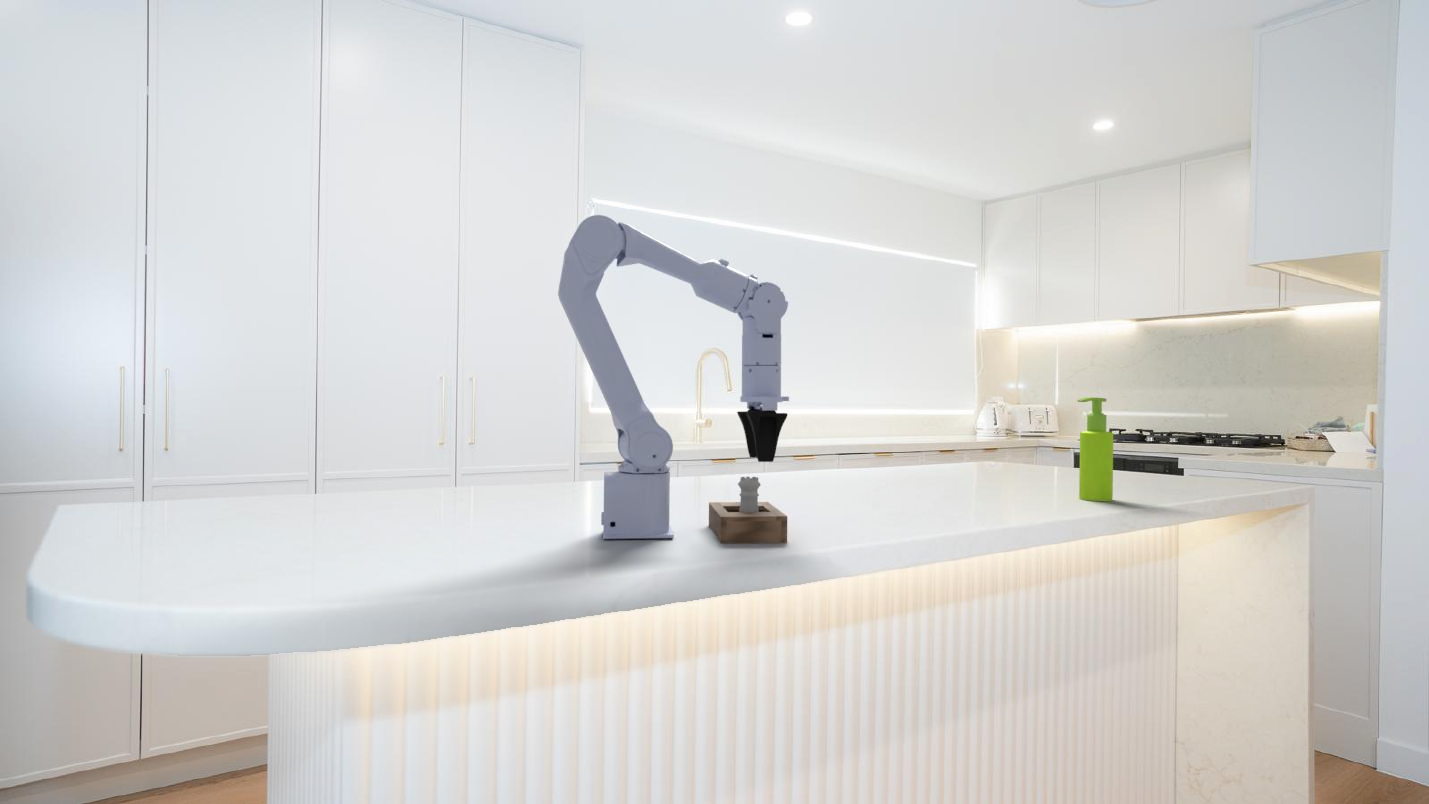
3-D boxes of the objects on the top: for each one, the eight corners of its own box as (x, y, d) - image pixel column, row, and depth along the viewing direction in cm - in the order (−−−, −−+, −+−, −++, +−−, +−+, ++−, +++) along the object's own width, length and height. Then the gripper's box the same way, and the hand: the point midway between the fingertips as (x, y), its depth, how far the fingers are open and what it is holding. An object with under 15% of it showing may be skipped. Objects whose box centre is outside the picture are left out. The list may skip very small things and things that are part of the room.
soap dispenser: (1068, 497, 154) (1069, 397, 153) (1096, 496, 156) (1097, 397, 156) (1090, 501, 148) (1092, 397, 148) (1119, 500, 150) (1120, 397, 150)
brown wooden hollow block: (720, 543, 103) (720, 516, 103) (708, 525, 117) (708, 502, 117) (787, 542, 104) (787, 516, 104) (767, 524, 118) (767, 501, 118)
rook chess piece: (764, 536, 108) (764, 479, 108) (732, 536, 108) (732, 478, 108) (764, 531, 112) (765, 476, 112) (733, 530, 113) (734, 475, 113)
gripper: (799, 364, 106) (798, 463, 106) (778, 368, 120) (778, 455, 121) (748, 364, 105) (747, 463, 105) (733, 367, 120) (733, 455, 120)
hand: (761, 459), depth 113 cm, fingers open, 7 cm apart
